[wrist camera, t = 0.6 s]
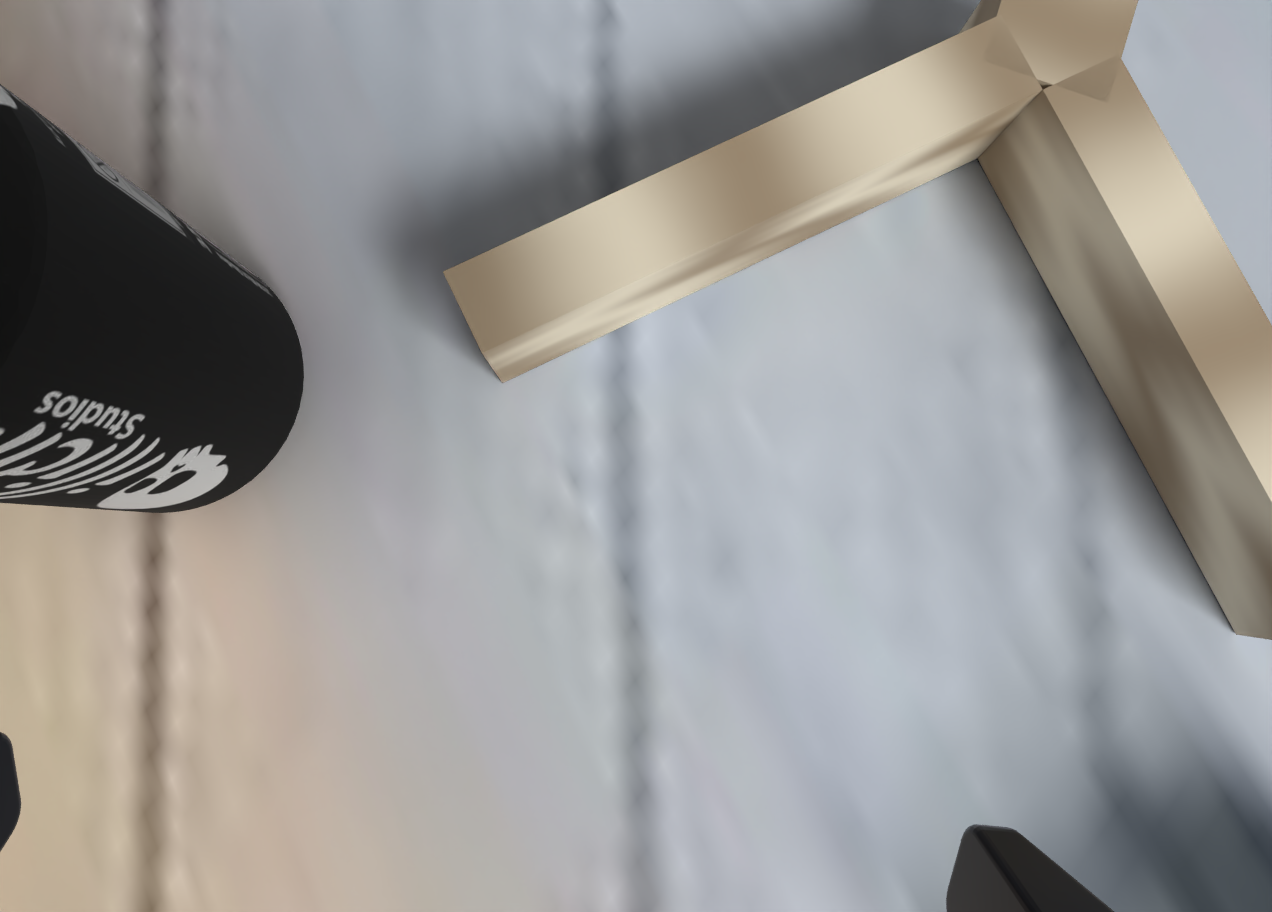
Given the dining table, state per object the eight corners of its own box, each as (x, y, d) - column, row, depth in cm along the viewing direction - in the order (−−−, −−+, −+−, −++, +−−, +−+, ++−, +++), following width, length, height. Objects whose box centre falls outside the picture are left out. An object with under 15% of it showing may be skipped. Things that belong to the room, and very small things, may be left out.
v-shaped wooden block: (1288, 652, 22) (1417, 673, 18) (450, 364, 22) (419, 331, 18) (1406, 186, 23) (1547, 123, 20) (616, -82, 23) (617, -191, 20)
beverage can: (116, 559, 21) (-520, 580, 9) (12, 327, 22) (-719, 66, 10) (358, 441, 22) (46, 317, 10) (250, 217, 22) (-173, -162, 10)
